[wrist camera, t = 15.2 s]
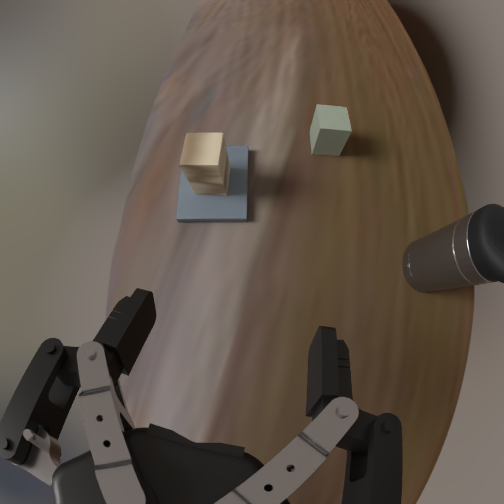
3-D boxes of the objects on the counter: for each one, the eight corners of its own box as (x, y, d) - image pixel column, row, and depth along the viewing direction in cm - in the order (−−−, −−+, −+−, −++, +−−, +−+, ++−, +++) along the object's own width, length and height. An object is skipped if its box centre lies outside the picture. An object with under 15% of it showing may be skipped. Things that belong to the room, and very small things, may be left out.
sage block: (335, 133, 46) (346, 107, 39) (339, 156, 45) (351, 131, 38) (309, 131, 47) (316, 104, 39) (311, 154, 46) (320, 128, 38)
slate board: (248, 150, 46) (248, 145, 44) (246, 221, 43) (246, 218, 42) (186, 152, 46) (184, 148, 45) (178, 221, 44) (176, 219, 42)
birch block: (230, 167, 44) (223, 132, 34) (226, 195, 43) (218, 165, 33) (200, 167, 44) (186, 133, 34) (195, 194, 43) (179, 164, 33)
